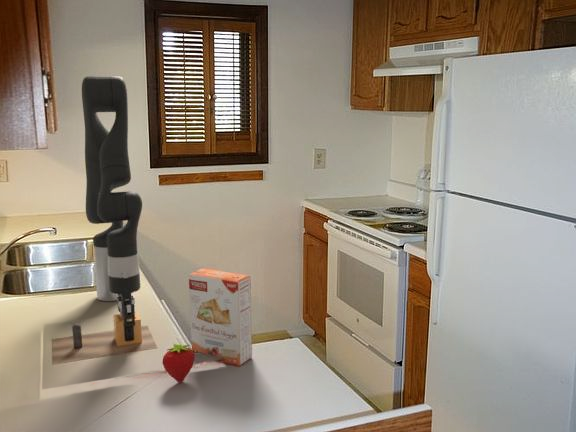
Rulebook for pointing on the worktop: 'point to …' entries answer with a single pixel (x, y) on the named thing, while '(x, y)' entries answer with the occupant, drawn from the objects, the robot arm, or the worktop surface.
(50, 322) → the worktop surface
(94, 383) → the worktop surface
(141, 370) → the worktop surface
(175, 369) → the strawberry
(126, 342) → the collar
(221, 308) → the cracker box
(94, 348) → the board
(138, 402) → the worktop surface
